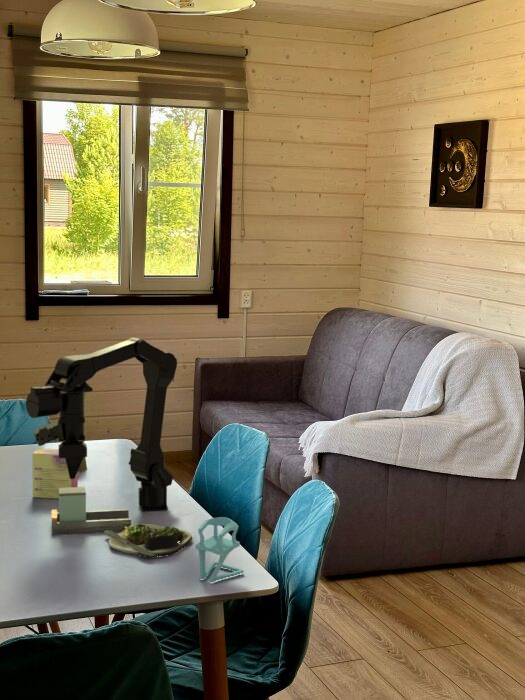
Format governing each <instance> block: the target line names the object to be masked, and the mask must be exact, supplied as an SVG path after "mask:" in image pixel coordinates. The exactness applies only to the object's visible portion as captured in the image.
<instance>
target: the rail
mask: <svg viewBox="0 0 525 700" xmlns="http://www.w3.org/2000/svg"><path fill="white" fill-rule="evenodd" d="M129 512H130V511H129V509H128V508H126V509H125V508H124V509H104V510H103V509H101V510H100V509H99V510H86V521H70V522H59V512H58V509H51V535H52V536H60V535H61V536H62V535H79V534H80V535H81V534H95V533H98V534H99V533H104V532H105V531H106V530H111V531H113V532H115V533H116V532H117V533H118V532H119V533H120V532H122V531H124V530H125V526H126V527H127V528H128V527H129V526H132V518H130V515H129Z"/></svg>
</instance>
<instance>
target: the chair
mask: <svg viewBox="0 0 525 700" xmlns="http://www.w3.org/2000/svg"><path fill="white" fill-rule="evenodd" d="M209 525H210V526H213V535H212V536H211V537H209V538H207V539H205V536H204V534H203V532H204V530H205V529H206V528H207V527H208V526H209ZM218 527H223V529H222V530H221V531H220V532H218ZM238 530H239V525H238V524H237V523H236V522H235V521H234V520H232V519H230V518H229V517H225V516H224V517H223V516H220V517H219V516H218V517H213V518H212V517H211V518H208V519H206V520H204V521H203V522H202V524H201V525H200V526H199V527H198V529H197V532H198V534H199V538H200V540H199V542H198V543H195V549H197V551H198V559H199V578H200V579H204V578H205V577H207V575H208V574H209V573H210V572H211V570H212V569H213V567H214V566H215V565H217V566H216V567H214V569H213V570H212V571H213V572H211V573H210V574H211V575H210V574H209V575H210V578H209V581H210V582H214V581H216V580H219V579H223V578H226V577H230V576H234V575H237V574H240V573H243V572H245V571H244V569H241V568H238V567H235V566H230V565H228V564H224V562H225V560H226V558H227V557H228V556H229V554H230V553H231V552H232V551H233V550H234V549H236V548H238V547H240V546H241V543H240V541H237V539H236V535H237V532H238ZM231 531H233V532H232V534H231V539H229V538H224V537H225V536H226V535H227V534H228V533H230V532H231ZM206 552H210V553H213V554H215V555H218V556H219V559H218V562H216V561H213V562H211V563H210V564H209V565H208V567H206ZM221 567H223V568H227V569H230V570H233V571H235V572H231V571H230V572H227V573H224V574H220V575H218V573H219V572H220V570H221ZM207 578H208V577H207Z"/></svg>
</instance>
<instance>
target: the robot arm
mask: <svg viewBox="0 0 525 700" xmlns="http://www.w3.org/2000/svg"><path fill="white" fill-rule="evenodd" d="M132 359H135V360H136V361H138V362H140V364H142V374H143V377H144V380H145V383H146V393H145V401H144V402H145V403H144V409H143V410H144V411H143V416H142V417H143V418H142V427H141V434H140V442H139V443H138V445H137V447H136V448H131V449H130V458H129V461H128V465H129V466H130V471H131V472H132V474H133V475H134V476H135V480H136V481H137V482H140V487H138V491H137V492H138V507H140V509H141V511H142V512H145V511H167V510H168V509H169V506H168V499H167V498H168V487H169V486H171V485H172V484H173V480H174V476H173V475H172V474H171V473H170V472H169V471H168V470H167V469H166V467H165V455H164V452H163V449H162V446H161V440H162V434H163V424H164V416H165V415H164V414H165V408H166V400H167V399H166V397H167V391H168V387H169V386H170V385H171V383H172V381H173V380H174V378H175V375H176V372H177V368H178V360H177V357H176V356H175V355H174V354H173V353H172V352H167V351H163V350H161V349H159V348H158V347H156V346H153V345H151V344H150V343H149V342H147V341H146V340H145V339H142V338H139V337H138V338H137V337H130V338H127V339H126V340H124V341H121V342H118V343H116V344H114V345H110V346H108V347H105V348H102V349H98V350H96V351H94V352H90V353H86V354H73V355H66V356H63V357H62V356H61V357H60V358H59V359H57V360H56V364H55V365H54V366H55V367H54V369H53V371H52V373H51V374H50V375H49V377H48V379H47V380H46V382H45V384H44V385H45V386H31V387H30V392H29V393H28V395H27V397H26V399H25V410H26V412H27V414H28V416H29V417H30V418H32V419H36V418H44V417H48V416H49V417H50V416H56V415H57V414H58V416H57V421H55V422H54V421H53V422H50V423H48V424H45V425H42V426H39V427H37V428H35V429H34V430H33V435H34V438H35V441H36V443H37V445H38V447H41V446H45V445H46V444H48V443H50V442H52V441H56V440H57V442H61V443H60V444H58V449H59V458H65V459H66V463H67V468H68V472H69V477H70V479H74V478H75V477H76V474H77V472H78V469H79V467H80V465H81V462H82V460H83V458H84V457H85V458H87V457H88V447H87V443H85V441H84V442H83V441H80V440H86V434H85V433H86V432H85V423H86V417H85V393H89V392H93V390H94V388H92V387H91V386H90V385H89V384H88V383H87V381H89V380H91V379H92V378H94V376H95V375H96V374H97V373H99V371H102V370H104V369H108V368H109V367H113V366H116V365H118V364H120V363H123V362H126V361H128V360H132ZM78 473H79V472H78Z"/></svg>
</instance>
